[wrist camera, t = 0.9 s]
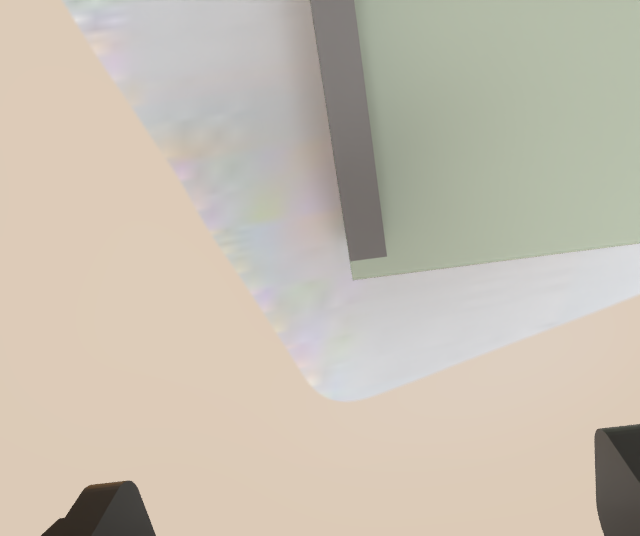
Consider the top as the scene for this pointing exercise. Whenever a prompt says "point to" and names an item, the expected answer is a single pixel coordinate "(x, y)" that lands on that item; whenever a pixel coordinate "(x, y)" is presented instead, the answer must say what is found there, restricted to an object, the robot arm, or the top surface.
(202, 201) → the top surface
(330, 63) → the mailer lid
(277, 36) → the top surface
